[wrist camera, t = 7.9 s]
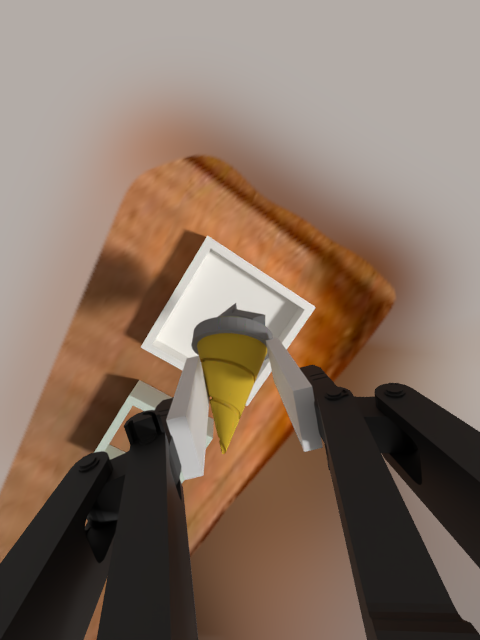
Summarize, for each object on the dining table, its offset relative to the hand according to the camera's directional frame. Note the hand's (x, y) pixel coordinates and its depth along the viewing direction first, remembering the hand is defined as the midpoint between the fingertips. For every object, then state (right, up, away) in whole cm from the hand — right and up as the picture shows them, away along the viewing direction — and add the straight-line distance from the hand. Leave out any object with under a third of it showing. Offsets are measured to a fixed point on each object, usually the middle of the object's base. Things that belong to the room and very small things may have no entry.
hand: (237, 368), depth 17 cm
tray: (-1, +3, +13) cm, 14 cm away
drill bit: (0, +1, +4) cm, 4 cm away
